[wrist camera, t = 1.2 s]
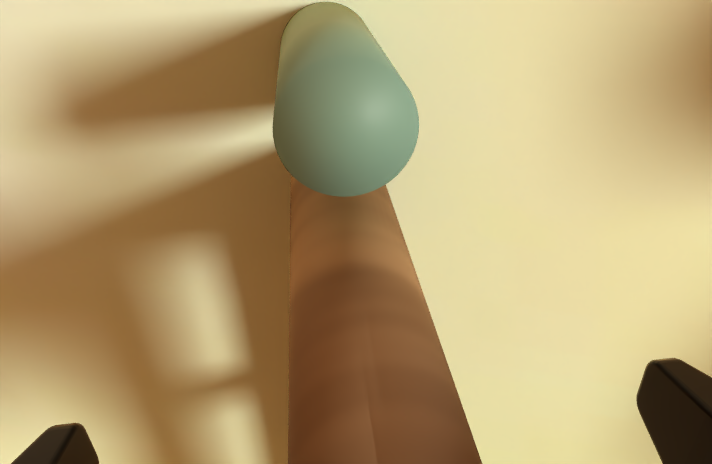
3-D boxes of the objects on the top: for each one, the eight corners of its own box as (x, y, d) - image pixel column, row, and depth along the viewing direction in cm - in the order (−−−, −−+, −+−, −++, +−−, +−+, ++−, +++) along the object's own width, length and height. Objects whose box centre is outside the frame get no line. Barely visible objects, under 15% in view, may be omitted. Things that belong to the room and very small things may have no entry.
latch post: (373, 94, 14) (417, 190, 9) (285, 100, 14) (281, 202, 9) (371, -1, 13) (420, 51, 8) (274, 4, 13) (263, 61, 8)
